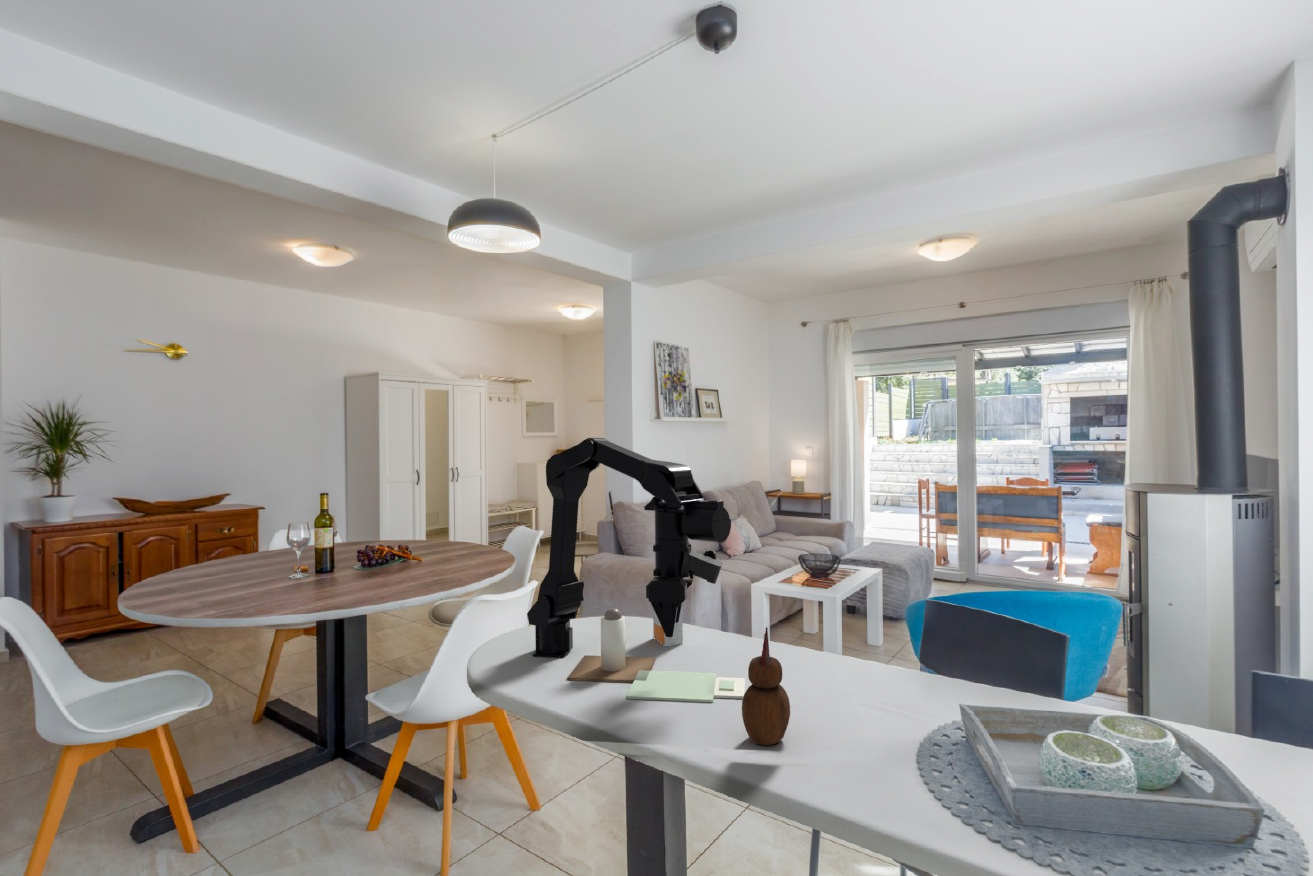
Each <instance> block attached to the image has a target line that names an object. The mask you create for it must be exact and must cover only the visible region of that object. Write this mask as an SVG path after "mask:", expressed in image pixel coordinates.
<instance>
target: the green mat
mask: <svg viewBox="0 0 1313 876" xmlns="http://www.w3.org/2000/svg"><path fill="white" fill-rule="evenodd" d="M643 672H645V670H643V671H642V674H641V672H640V670H639V672H638V674H637V675H638V677H636V678H639V677H640V678H642V677H643V675H644V673H643ZM648 672H649V673H648ZM640 674H641V675H642V677H641V676H640ZM717 675H718V674H717V672H697V671H695V672H693V671H668V670H666V671H665V670H651V671H647V670H646V675H644V676H646V681H645V679H644V678H642V679H643V680H644V681H643V680H641V681H640V680H639V679H637V680H636V679H635V680H634V682H633V683H632V684H631V686H630V688H629V691H628V693H627V694H626V699H630V700H631V699H633V700H649V701H651V700H652V701H670V702H671V701H673V702H674V701H675V702H695V703H696V702H697V703H714V694H713V693H714V692H713V690H714V689H715V682H716V677H718V676H717ZM647 676H648V677H647ZM711 677H712V679H711ZM714 677H715V678H714ZM711 680H712V681H711ZM711 682H712V683H713V684H712V683H711ZM711 686H712V687H711ZM709 690H710V691H709ZM711 690H712V691H711ZM709 694H710V695H709Z"/></svg>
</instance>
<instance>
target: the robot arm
mask: <svg viewBox="0 0 1313 876" xmlns="http://www.w3.org/2000/svg"><path fill="white" fill-rule="evenodd" d="M601 464H602V465H603V466H605V467H607V468H610V469H612V470H615V471H617V472H619V473H621V474H623V475H626V476H627V477H630V478H632V479H633V480H635V481H636V482H638V483H639V484H640V487H642V489H643V490H645V491H646V492H647V493H649V494H650V495H652V496H653V497H652V498H651V500H650V501H649V502H648V503H647V504H645V506H644V507H643V508H644V510H645V511H651V512H653V511H654V544H653V546H652V552H653V553H654V557H655V558H654V559H655V560H654V568H653V570H652V571H653V572H652V573H653V577H652V579H650V581H649V582H648V583H647V584H646V586H645V598H646V599H648V602H649V603H650V604H651V607H652V610H653V609H654V611H655V613H656V615H657V617H658V620H659V622H660V624H661V626H662V629H663V631H664V633H665V635H666V637H673V633H674V627H675V623H678V622H679V617H680V612H681V607H682V608H683V603H684V602H685V601H686V599H687V597H688V595H687V594H688V589H689V588H690V586H692V585H693V583H694V578H695V577H697V578H701V579H703V580H706V582H707V583H710V584H716V583H717V581H718V578H719V575H720V573H721V572H720V571H721V569H722V567H723V562H722V561H721V560H720V559H718V558H717V553H716V552H717V551H715V550H713V549H710V548H708V549H706V551H704V552H703V553H701V552H696V551H694V550H692V544H691V542H690V541H689V540H693V541H702V542H709V543H710V542H711V543H720V544H722V543H724V542H726V540H727V539H728V538H729V536H730V534H731V529H732V519H731V518H730V514H729V511H728V510H727V509H726V508H725V507H724V502H725V501H724V500H723V499H715V500H714V499H713V500H707V499H706V497H705V496H704V494H703V493H702V491H701V489H700V487H699V485H698V484H697V483H696V481H695V479H694V477H693V476H694V475H693V473H692V470H691V468H690V467H689V466H688V465H686V464H683V463H677V462H672V461H664V460H657V459H653V458H652V459H651V458H649V457H647V456H644V455H642V454H639V453H637V452H635V451H633V450H631V449H628V448H625V447H623V446H620V445H618V444H616V443H615V442H614V443H613V442H611V441H610V440H608V439H606V438H605V437H587V438H586V439H583V440H581V442H580V443H578V444H576V445H574V446H571V447H569V448H567V449H565V450H563V451H561V452H560V453H556V454H553V455H551V457H550V458H548V459H547V460H546V464H545V479H546V480H545V482H546V487H547V488H548V490H549V492H550V494H551V497H552V499H553V500H552V515H551V531H550V533H551V534H550V545H549V546H550V547H549V563H548V571H547V573H546V574H545V576H544V578H543V579H542V581H541V583H540V585H539V590H538V595H537V600H536V601H535V602H534V603H533V605H532V607H531V608H530V609H529V610H528V612H527V613H526V616H527V620H528V624H529V625H531V626H535V627H534V628H535V631H534V634H535V635H534V636H535V651H534V652H533V653H532V657H536V658H537V657H542V658H544V657H545V658H565V657H566V656H567V655H568V654H569V653H570V652H571V650H572V649H573V648H574V647H573V646H574V642H573V641H574V640H573V637H574V636H573V635H574V634H573V631H574V629H573V626H571V620H572V619H573V620H574V619H576V618H577V615H578V612H579V611H578V610H579V609H580V607H581V605H582V602H583V601H584V600H585V599H584V589H585V582H584V580H579V578H578V576H577V575H576V572H575V564H576V563H575V561H576V548H577V547H576V546H577V544H576V543H577V533H578V532H577V530H578V518H579V517H578V516H579V503H580V499H581V496H582V495H583V494H584V492H585V490H586V488H587V486H588V483H589V478H590V473H592V472H593V471H595V470H596V469H598V468H599V467H600V465H601ZM686 578H689V579H686Z"/></svg>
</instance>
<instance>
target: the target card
mask: <svg viewBox="0 0 1313 876" xmlns="http://www.w3.org/2000/svg"><path fill="white" fill-rule="evenodd" d="M714 678H715V677H714ZM711 679H712V677H711ZM711 681H712V680H711ZM711 683H712V682H711ZM712 684H713V683H712ZM711 687H712V686H711ZM709 691H710V690H709ZM711 691H712V690H711ZM713 692H714V693H713V694H714V698H716V699H717V698H719V699H721V698H722V699H737V700H738V699H740V700H741V699H742V700H743V697H744V694H745V692H746V678H744V677H720V676H719V677H718V676H717V677H716V682H715V689H714V690H713ZM709 695H710V694H709Z"/></svg>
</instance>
